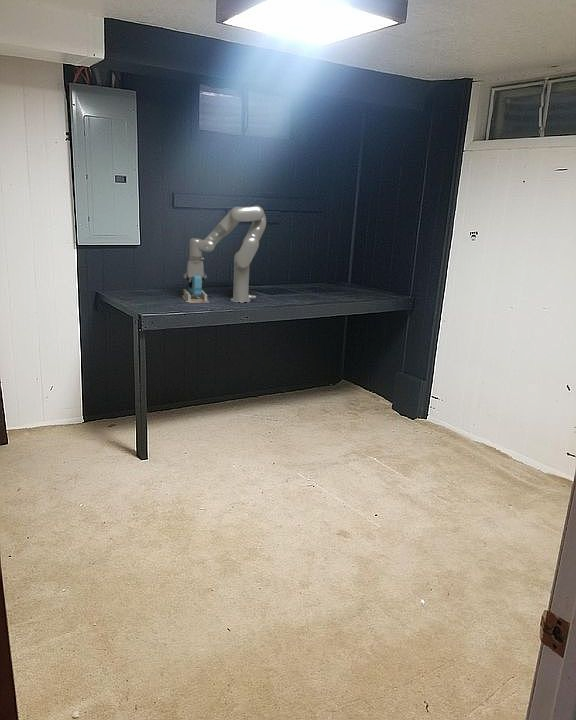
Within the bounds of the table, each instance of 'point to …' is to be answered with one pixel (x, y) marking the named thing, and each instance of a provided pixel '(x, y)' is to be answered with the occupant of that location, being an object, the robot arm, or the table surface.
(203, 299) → the bay
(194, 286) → the data package
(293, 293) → the table surface
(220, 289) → the table surface
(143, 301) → the table surface
